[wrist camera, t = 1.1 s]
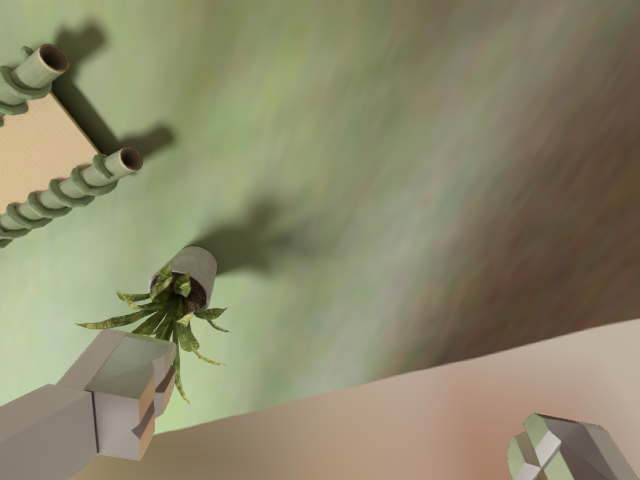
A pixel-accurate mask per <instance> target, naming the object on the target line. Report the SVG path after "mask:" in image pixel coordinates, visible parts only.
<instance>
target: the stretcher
mask: <svg viewBox="0 0 640 480" xmlns="http://www.w3.org/2000/svg"><path fill="white" fill-rule="evenodd" d="M20 53H21V54H22V55H23V57H24V58H26V60H25V61H24V62H23V63H22V64H20V65H19V66H18V67H17V68H16V69H12V68H10V67H7V66H1V67H0V249H1V248H4V247H5V246H7V245H8V244H9V243H10V242H12V240H13V239H14V238H18V237H21V236H24V235H26V234H27V233H28V232H30V231H31V230H32V229H35V228H39V227H43V226H45V225H46V224H48V223H49V222H51V221H52V220H53V218H56V217H60V216H64V215H66V214H67V213H68V212H70V211H71V210H72V208H73V207H85V206H86V205H88V204H89V203H90V202H92V201H93V200H94V198H95V196H100V195H104V194H107V193H109V192H110V191H112V190H113V189H114V188H115V187H116V185H117V183H118V180H119V179H120V178H122V177H124V176H126V175H129V174H131V173H133V172H135V171H137V170H139V169H141V167H142V165H143V159H142V156H141V155H140V153H139V152H138V151H137V150H136V149H134V148H132V147H125V148H123V149H121V150H119V151H117V152H115V153H113V154H111V155H109V156H107V155H105V154H101V153H100V152H99V150H98V149H97V148H96V147H95V145H94V144H93V143H92V142H91V140H90V139H89V138H88V136H87V135H86V134H85V133H84V131H83V130H82V129H81V128H80V126H79V125H78V124H77V123H76V121H75V120H74V119H73V118H72V116H71V115H70V114H69V113H68V111H67V110H66V109H65V108H64V106H63V105H62V104H61V103H60V101H59V100H58V99H57V98H56V96H55V95H54V94H53V93H52V91H51V88H52V81H53V80H55V79H56V78H57V77H59V76H60V75H61V74H63V73H64V72H65V71H66V70H68V69H69V66H70V63H69V59H68V57H67V56H66V54H65V53H64V52H63V51H62V50H61V49H60V48H58V47H56V46H54V45H51V44H44V45H42V46H41V47H40V48H38V49H37V50H36V51H35V52H34V51H33V50H32V49H31V48H28V47H26V46H24V47H22V48H21V50H20Z"/></svg>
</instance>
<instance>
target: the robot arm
mask: <svg viewBox="0 0 640 480" xmlns="http://www.w3.org/2000/svg"><path fill="white" fill-rule="evenodd" d="M176 346H177V344H175V343H174V342H170V341H165V340H161V339H157V338H152V337H148V336H143V335H139V334H134V333H128V332H123V331H119V330H114V329H110V328H107V329H105V330H103V331H101V332H100V333H99V334H98V335H97V337H96V338H95V339H94V340H93V341H92V342H91V344H90V345H89V346H88V347H87V348H86V350H85V351H84V352H83V353H82V354H81V355H80V357H79V358H78V359H77V360H76V361H75V363H74V364H73V365H72V366H71V367H70V368H69V370H68V371H67V372H66V373H65V374H64V376H63V377H62V378H61V379H60V380H59V381H58V383H57V384H56V385H52V384H46V385H44V386H42V387H40V388H38V389H36V390H34V391H32V392H30V393H28V394H26V395H23V396H21V397H19V398H17V399H15V400H13V401H11V402H9V403H7V404H5V405H3V406H1V407H0V480H68V479H70V478H71V477H72V476H73V475H75V474H76V473H77V472H78V471H80V470H81V469H82V468H84V467H85V466H86V465H88V464H89V463H90V462H91V461H93V460H94V459H95V458H96V457H97V454H101V455H106V456H113V457H119V458H126V459H132V460H139V461H140V460H141V458H142V456H143V454H144V452H145V449H146V448H147V446H148V444H149V442H150V440H151V438H152V436H153V434H154V432H155V418H157V417H159V416H160V415H162V414H163V413H164V411H165V409H166V407H167V405H168V403H169V400H170V397H171V394H172V391H173V388H174V383H175V376H176V370H175V368H174V367H173V366H172V363H173V361H174V359H175V357H176ZM523 425H524V429H525V432H522V433H520V434H518V435H516V436H515V437H514V438H513V440H512V442H511V443H510V445H509V450H508V465H509V470H510V473H511V475H512V478H513V480H639V478H638V477H637V475H636V474H635V472H634V471H633V469H632V468H631V466H630V465H629V463H628V462H627V460H626V459H625V457H624V456H623V454H622V453H621V451H620V450H619V448H618V447H617V445H616V444H615V442H614V441H613V439H612V438H611V436H610V435H609V433H608V432H607V431H606V430H605V429H604V428H603V427H601V426H600V425H595V424H589V423H584V422H579V421H577V422H576V421H573V420H568V419H563V418H557V417H552V416H547V415H541V414H536V413H534V414H532V415H530V416H528V417H527V418H526V420H525V421H524V423H523Z"/></svg>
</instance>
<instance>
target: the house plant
mask: <svg viewBox="0 0 640 480" xmlns="http://www.w3.org/2000/svg"><path fill="white" fill-rule="evenodd" d="M216 272H217V262H216V259H215V258H214V256H213V255H212V254H211V253H210V252H209V251H207V250H206V249H203V248H201V247H196V246H189V247H185V248H184V249H182V250H181V251H180V252H178V253H177V254H176V255H175V256H174V257H173V258H172V259H171V260H170V261H169V262H168V263H167V264H165V265H164V266H163V267H162V268H161V269H160V270H159V271H158V272H157V273H156V274H155V275H154V276H153V277H152V278H151V279H150V282H149V285H148V289H149V293H148V294H137V295H135V294H121V293H120V292H119V293H118V292H116V293H117V295H118V297H119V298H120V299H121V300H123V301H126V302H127V303H128V304H129V306H130V307H131V308H132V309H135V310H142V311H139V312H136V313H133V314H129V315H125V316H120V317H114V318H111V319H108V320H105V321H102V322H99V323H83V324H77V325H79V326H82V327H85V328H89V329H107V328H113V327H118V326H124V325H127V324H131V323H133V322H135V321H137V320H139V319H141V318H143V317H145V316H147V315H150V314H152V313H154V312H157V311H158V312H157V313H155V314H154V315H152V316H151V317H150V318H148V319H147V320H146V321H145V322H144V323H142V324H141V325H140V326H139V327H138V328H137V329H135V330H134V331H133V332H131V333H134V334H139V335H143V336H148V337H149V336H150V335H154V334H157V335H156V336H155V337H156V338H157V339H161V340H165V341H169V340H170V337H171V334H172V330H173V342H174V343H175V344H177V346H176V357H175V359H174V361H173V367H174V368H175V370H176V376H175V385H176V387H177V389H178V391H179V392H180V394H181V396H182V397H183V398H184V400H185V401H187V402H188V400H187V398H186V396H185V394H184V391H183V388H182V385H181V380H180V357H179V345H178V337H179V341H180V346H181V348H182V349H183V350H185V351H188V352H190V351H193V352H194V353H195V354H196V355H197V356H198V357H199V358H200V359H202V360H204V361H206V362H209V363H212V364H216V365H224V364H220V363H217V362H214V361H211V360H209V359H207V358H205V357H203V356H201V355H200V354H199V353H198V352H197V349H198V348H199V343H198V342H197V340H196V339H195V337H194V336H193V334H192V332H191V328H190V319H191V318H192V317H195V316H196V317H198V318H201V319H207V321H208V322H209V323H210V324H211V325H212V326H213V327H214V328H215V329H217V330H220V331H223V332H229V331H227V330H225V329H223V328H220V327H219V326H217V325H216V324H214V323H213V322H212V321H211V319H215V318H217V317H219V316H220V315H221V314H222V313H223V312H224V311H225V310H226V309H227V308H228V307H227V308H225V309H219V308H214V309H207V308H208V306H209V303H210V299H211V294H212V290H213V285H214V281H215V276H216ZM115 291H116V290H115ZM148 298H151V300H152V303H149V304H145V305H141V306H140V305H136V304H134V303H133V302H136V301H141V300H145V299H148ZM206 309H207V310H206ZM166 313H167V315H166ZM165 315H166V317H165V319H164V320H163V322H162V323H161V324H160V325H159V323H160V322H161V321H162V319H163V318H164V316H165ZM75 324H76V323H75ZM158 325H159V327H158V328H157V329H156V327H157V326H158ZM155 329H156V330H155ZM154 330H155V332H154V333H152V332H153V331H154ZM155 337H154V338H155ZM195 350H196V351H195ZM188 403H189V402H188Z"/></svg>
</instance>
